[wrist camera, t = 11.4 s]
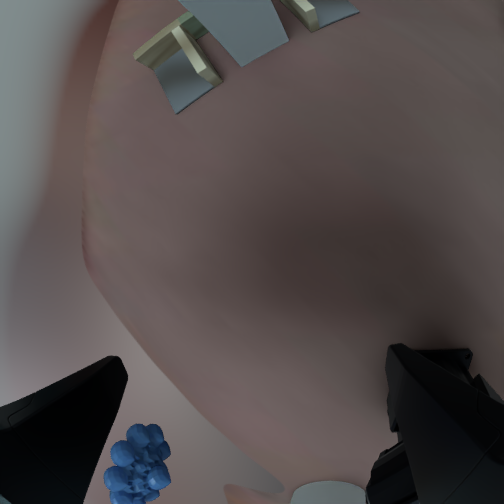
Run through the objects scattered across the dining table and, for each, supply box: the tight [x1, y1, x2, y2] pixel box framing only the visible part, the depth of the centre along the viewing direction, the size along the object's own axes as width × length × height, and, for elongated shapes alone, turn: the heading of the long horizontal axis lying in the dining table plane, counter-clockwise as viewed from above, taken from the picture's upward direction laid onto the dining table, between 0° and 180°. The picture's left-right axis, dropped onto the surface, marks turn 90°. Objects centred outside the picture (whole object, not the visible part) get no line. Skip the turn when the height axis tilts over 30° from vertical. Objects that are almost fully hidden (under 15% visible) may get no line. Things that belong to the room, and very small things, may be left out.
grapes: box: [104, 424, 171, 504], centre depth 23 cm, size 12×7×12 cm, turn 4°
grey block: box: [178, 0, 289, 67], centre depth 14 cm, size 4×4×11 cm
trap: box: [133, 0, 359, 114], centre depth 17 cm, size 7×18×3 cm, turn 119°
